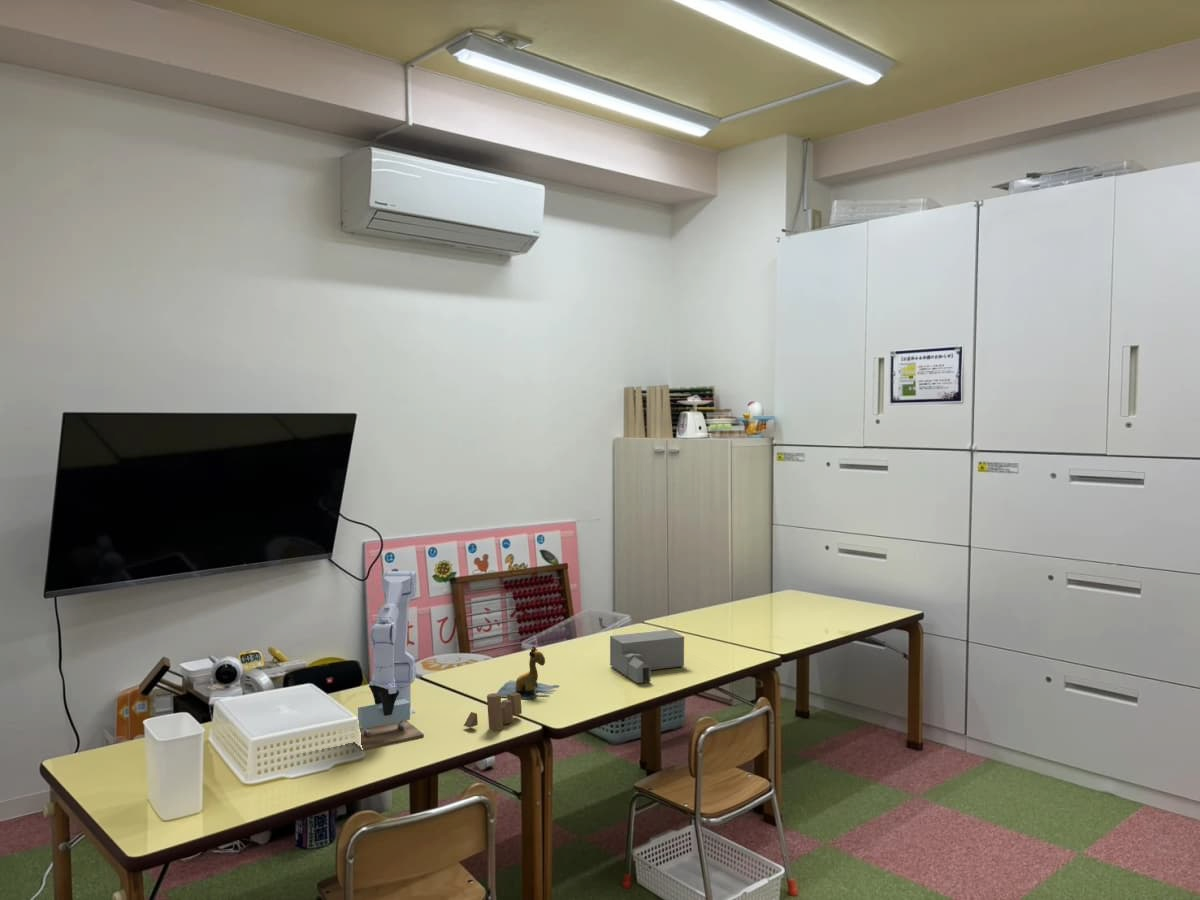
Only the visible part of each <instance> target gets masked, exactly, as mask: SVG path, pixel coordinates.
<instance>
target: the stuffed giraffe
mask: <svg viewBox="0 0 1200 900" xmlns="http://www.w3.org/2000/svg"><path fill="white" fill-rule="evenodd" d="M528 656H529V661H528V662H529V663H528V665H529V671H528V672H524V673H523V674H520V675H519V676H518V677H517V678H516V680H508V681H507V682H505V683H504V684H503V685H502V686H501V687H500V689H499V690H497V692H496V693H498V694H500V695H501V698H507V695H508V694H511V693H514V692H515V693H519V694H521V700H522V699H524V700H527V701H529V700H531V701H535V700H537V699H538V698H550V695H552V694H554V692H556V691H557V690H556V689H558V688H560V685H559V684H553V685H550V684H545V683H541V682H538V678H539V677H538V676H539V675H538V674H539V673H538V669H537V666H536V664H538V665H540V666H544V665H545V663H546V657H545V655H544V654H543V652H542V651H541V650H538V648H536V646H534V645H533V646H532V647H531V650H530V651H529V655H528ZM538 694H539V695H538Z"/></svg>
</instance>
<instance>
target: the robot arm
mask: <svg viewBox="0 0 1200 900" xmlns="http://www.w3.org/2000/svg"><path fill="white" fill-rule="evenodd" d="M381 587H382V590H383V592H384V594H385V602H384V604H383V605H381V606H380V608H379V611H378V614H377V618H376V621H375V624H373V625H372V626H371V628H370V643H371V650H372V651H373V652H372V653H373V658H372V659H373V660H372V663H373V673H372V675H371V681H369V685H368V688H369V689H370V691H371V693H372V696H373V700H374V705H375V704H380V703H382V706H383V713H384V715H385V716H387V715H392V712H393V708H394V704H395V701H396V700H401V699H406V700H407V701H408V702H410V713H412V714H415V713H416V711H415V709H413V708H412V704H411V703H412V702H411V701H412V698H411V693H412V692H411V689H412V688H411V684H413V683H414V682H415V681H416V675H417V667H416V659H415V657H414V656H413V655H411V653H410V652H408V632H409V631H408V629H409V608H410V607H409V606H410V602H411V599H413V598H415V597H416V594H417V573H416V572H415V571H414V570H409V571H408V570H407V571H405V570H403V571H400V570H399V571H398V570H394V571H393V570H392V571H391V570H385V571H384V572H383V574H382V577H381Z"/></svg>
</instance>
